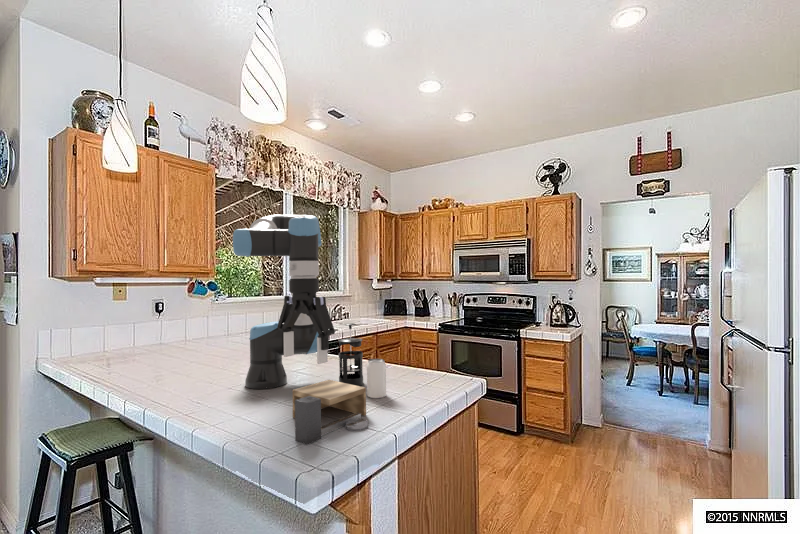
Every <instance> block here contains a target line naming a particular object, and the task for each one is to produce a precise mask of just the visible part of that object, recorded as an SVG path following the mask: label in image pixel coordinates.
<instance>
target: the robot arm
mask: <svg viewBox="0 0 800 534" xmlns="http://www.w3.org/2000/svg"><path fill="white" fill-rule="evenodd" d="M232 234H233V235H232V248H233V253H234V255H236V256H237V257H247V258H248V257H288V263H289V268H288V270H289V272H288V275H289V277H290V279H289V280H288V285H289V286H288V287H289V289H288V290H289V293H290V295H289V294H288V295H287V294H286V295H284V298H283V306H282V309H281V312H280V316H279V319H278V321H271V322H265V323H260V324H256V325H253V326H252V327H251V328H250V331H249V339H248V340H249V368H248V371H247V374H246V377H245V382H244V383H245V384H244V385H245V387H246V388H247V389H251V390H266V389H273V388H279V387H281V386H284V385H286V384H287V383H288V376H287V373H286V370H285V367H284V365H283V357H284V358H288V357H292V356H295V355H296V356H297V355H309V354H311V355H312V354H316V357H317V359H316V362H317V364H318V365H321V364H325V363H328V361H329V359H328V353H329V351H328V350H329V347H330V346H329V343H330V342H329V340H330V339H329V338H330V336H331V335H334V334H336V333H335V332H336V331H335V328H334V325H333V322H332V319H331V316H330V311H329V310H328V307H327V300H326V297H325V296H317V293H319V291H320V285H319V284H320V279H319V278H317V277H319V276H320V268H319V267H320V262H319V247H321V246H322V244H323V243H322V235H321V228H320V222H319V218H318V217H317V216H316V215H308V214H272V215H271V214H270V215H267V216H262V217H259V218H258V219H256V220H254V221H253V222H252V223H251V224H250V226H249V228H237V229H235V230H234V231H233V233H232ZM317 364H316V365H317Z"/></svg>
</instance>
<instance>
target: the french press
mask: <svg viewBox="0 0 800 534" xmlns="http://www.w3.org/2000/svg"><path fill="white" fill-rule="evenodd" d="M344 326H348V329H349V337H346V338H342V339H338V343H339V347H341V346H344V345H349V350H346V351H340V352H338V358H339V361H338V362H339V365H338V366H339V376H338V382H342V383H347V384H351V385H356V386H360V387H364V386H365V385H364V384H365V383H364V375H363V372H364V371H363V356H364V355H363V354H364V353H363V351H361V350H352V347H353V348H359V347H362V342H363V339H362V338H357V337H356V338H355V337H352V326H356V323H349V322H348V323H345V324H344ZM348 360H350V361H349V362H350V364H349V365H348ZM352 360H353V361H354V362H353V363H354V365H352Z"/></svg>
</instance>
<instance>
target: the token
mask: <svg viewBox="0 0 800 534" xmlns="http://www.w3.org/2000/svg"><path fill="white" fill-rule="evenodd" d="M368 428H369V422H368V420H367V419H364V418H361V419H351V420H348V421H347V422H346V426H345V429H346V430H348V431H352V432H359V431H363V430H364V431H365V429H368Z"/></svg>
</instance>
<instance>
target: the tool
mask: <svg viewBox="0 0 800 534" xmlns="http://www.w3.org/2000/svg"><path fill="white" fill-rule="evenodd" d="M294 419H295V421H294V423H295V425H294V426H295V427H294V429H295V431H294V432H295V433H294V440H295V441H296V442H298V443H301V444H304V445H306V446H308V445H310V444H313V443H314V442H315V443H316V442H318V441H319V440H322V436H324V435H326V434H329V433H332V432H333V431H336V430H339V429H341V428H342V427H346V422H347V421H348V420H351V419H362V415H361V413H351V414H349V415H347V416H344V417H342V418H339V419H338V420H337V419H336V420H335V421H331V422H330V423H328V424H325V425H322V409H321V399H319V398H316V397H312V396H307V397H304V398H301V399H297V400H295V418H294Z"/></svg>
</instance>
